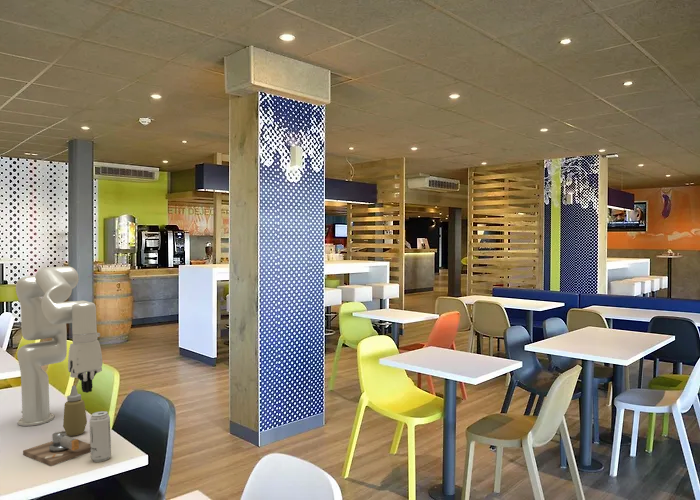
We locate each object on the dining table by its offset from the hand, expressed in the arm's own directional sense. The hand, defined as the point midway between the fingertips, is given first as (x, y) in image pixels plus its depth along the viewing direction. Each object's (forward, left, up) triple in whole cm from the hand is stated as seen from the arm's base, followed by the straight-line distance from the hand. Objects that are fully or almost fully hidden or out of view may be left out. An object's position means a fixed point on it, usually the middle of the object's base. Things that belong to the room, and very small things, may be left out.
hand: (87, 391), depth 182 cm
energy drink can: (+11, -2, -20) cm, 23 cm away
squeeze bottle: (-20, +7, -20) cm, 29 cm away
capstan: (-3, -6, -18) cm, 20 cm away
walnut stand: (-7, -6, -20) cm, 22 cm away
